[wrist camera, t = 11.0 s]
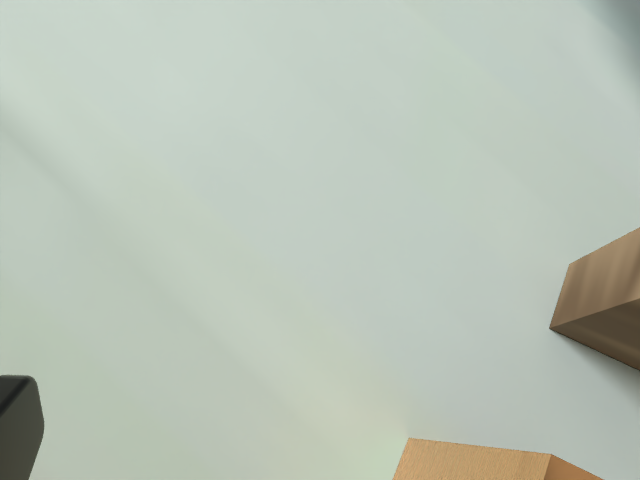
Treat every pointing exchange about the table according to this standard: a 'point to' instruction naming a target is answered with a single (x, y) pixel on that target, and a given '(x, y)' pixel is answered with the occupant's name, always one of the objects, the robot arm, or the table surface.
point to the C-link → (481, 463)
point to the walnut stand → (604, 300)
